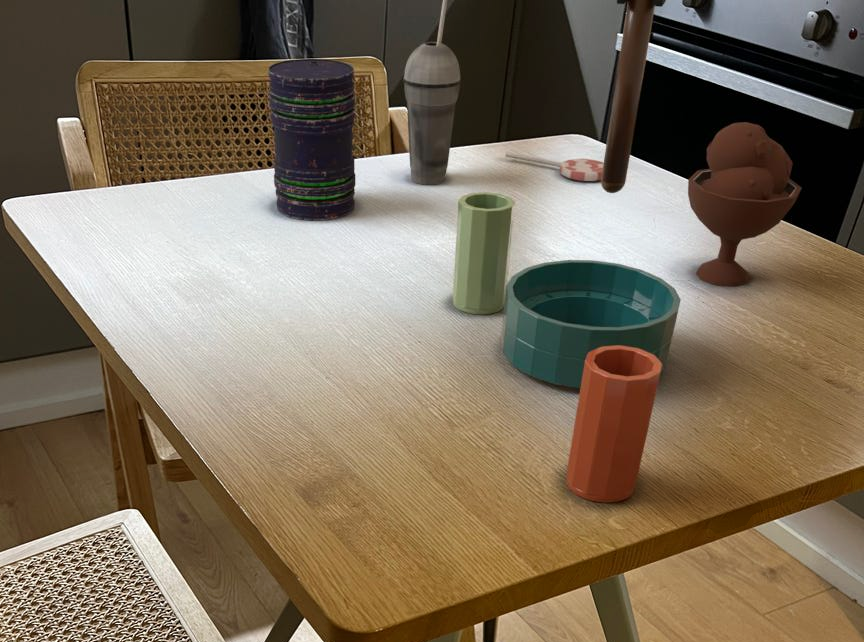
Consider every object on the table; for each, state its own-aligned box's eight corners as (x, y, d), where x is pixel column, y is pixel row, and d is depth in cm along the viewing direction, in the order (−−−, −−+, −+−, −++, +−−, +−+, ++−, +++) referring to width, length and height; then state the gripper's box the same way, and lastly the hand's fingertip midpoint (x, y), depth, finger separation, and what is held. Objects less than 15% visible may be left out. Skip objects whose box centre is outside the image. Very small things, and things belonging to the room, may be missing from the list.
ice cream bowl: (739, 305, 99) (782, 146, 89) (649, 273, 105) (679, 120, 95) (794, 278, 104) (839, 125, 94) (705, 249, 110) (739, 102, 100)
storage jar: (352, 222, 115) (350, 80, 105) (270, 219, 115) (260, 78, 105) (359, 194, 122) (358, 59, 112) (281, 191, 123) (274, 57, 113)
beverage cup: (405, 168, 130) (409, -8, 117) (458, 172, 129) (469, -5, 116) (396, 186, 125) (399, 3, 111) (452, 189, 124) (462, 6, 111)
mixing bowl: (673, 334, 94) (687, 272, 90) (655, 407, 83) (670, 341, 79) (520, 311, 97) (526, 251, 93) (483, 379, 86) (488, 314, 82)
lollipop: (517, 144, 135) (618, 163, 129) (516, 152, 136) (616, 171, 130) (495, 156, 131) (598, 176, 125) (494, 164, 132) (597, 185, 126)
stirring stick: (625, 190, 81) (672, -93, 68) (621, 197, 80) (669, -90, 67) (601, 187, 81) (643, -95, 69) (597, 195, 80) (640, -92, 67)
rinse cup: (509, 297, 100) (519, 195, 93) (497, 317, 96) (507, 213, 89) (460, 290, 101) (467, 189, 94) (447, 310, 97) (453, 206, 90)
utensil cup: (638, 472, 75) (665, 351, 69) (629, 508, 72) (657, 384, 65) (572, 460, 76) (592, 340, 70) (560, 495, 73) (580, 372, 66)
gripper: (833, -351, 60) (754, 0, 72) (579, -347, 64) (545, -13, 76) (835, -362, 55) (750, 19, 67) (557, -357, 58) (525, 4, 71)
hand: (641, 0), depth 71 cm, fingers closed on stirring stick, 2 cm apart
